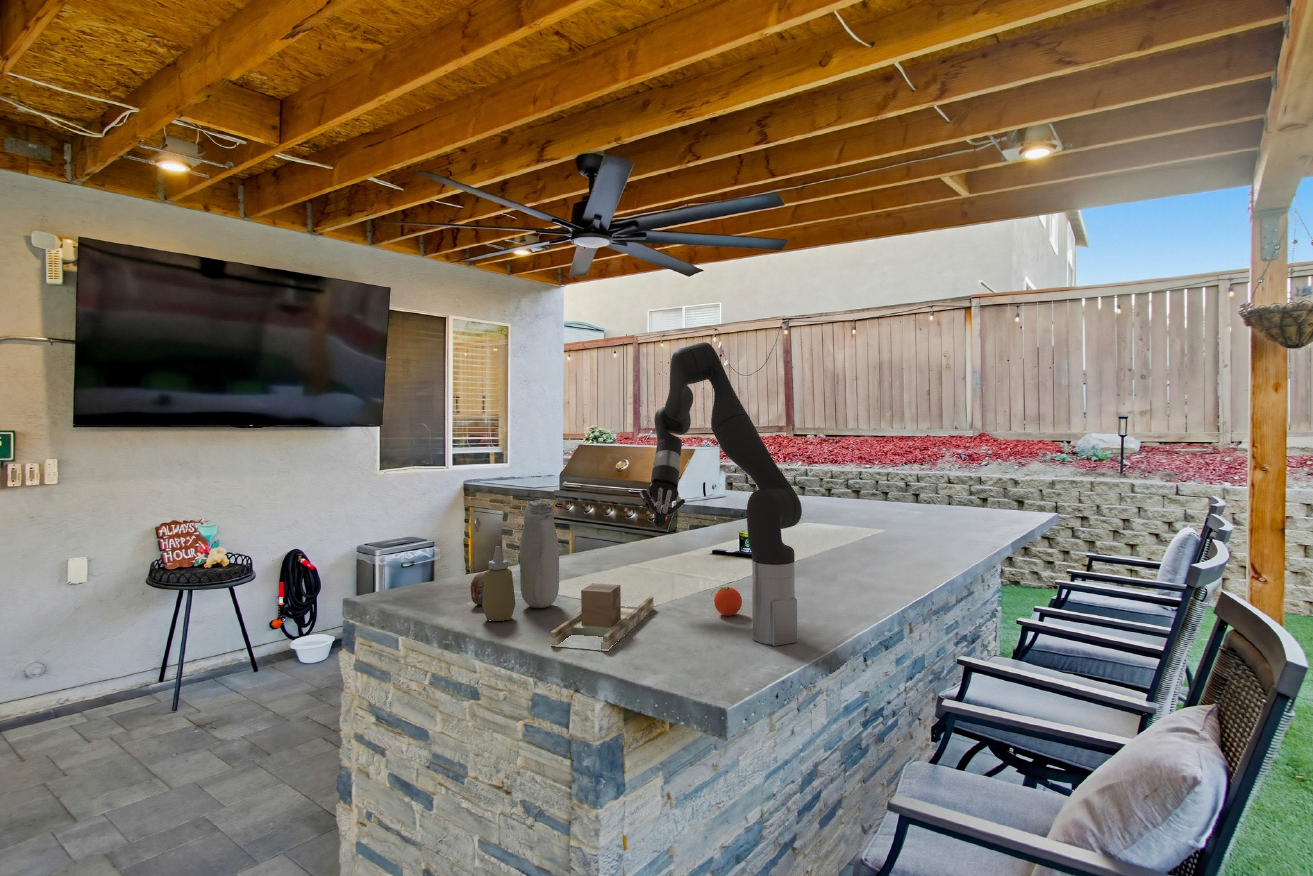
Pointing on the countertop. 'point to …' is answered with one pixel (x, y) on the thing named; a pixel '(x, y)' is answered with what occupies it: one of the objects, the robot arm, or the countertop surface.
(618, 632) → the track
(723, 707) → the countertop surface
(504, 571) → the squeeze bottle
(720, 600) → the clementine
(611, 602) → the walnut block
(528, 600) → the grey vase
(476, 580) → the tin
